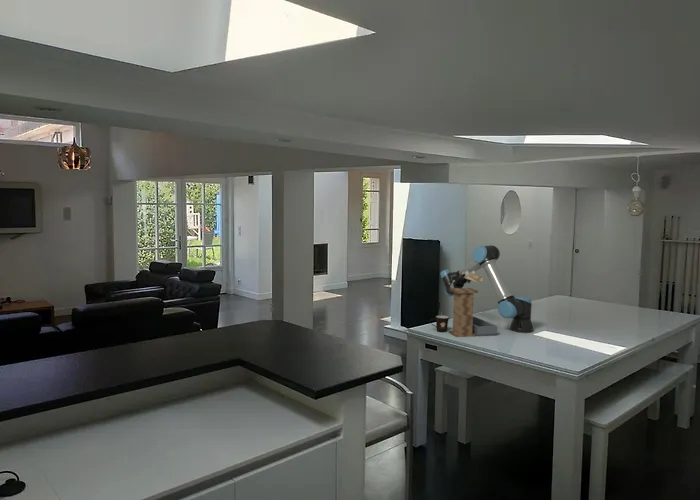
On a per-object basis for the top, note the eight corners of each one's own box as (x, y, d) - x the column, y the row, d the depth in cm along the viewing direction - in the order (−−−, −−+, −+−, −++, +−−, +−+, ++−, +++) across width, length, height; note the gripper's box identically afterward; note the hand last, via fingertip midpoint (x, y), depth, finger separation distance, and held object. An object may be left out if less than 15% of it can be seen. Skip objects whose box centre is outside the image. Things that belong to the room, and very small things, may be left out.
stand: (467, 331, 359) (469, 287, 357) (476, 336, 347) (477, 290, 345) (448, 332, 355) (449, 288, 353) (456, 337, 344) (458, 291, 341)
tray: (473, 324, 382) (473, 316, 382) (497, 335, 351) (497, 326, 351) (455, 325, 378) (456, 317, 378) (477, 336, 348) (478, 327, 347)
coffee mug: (449, 331, 361) (450, 316, 360) (446, 333, 353) (446, 318, 353) (432, 328, 366) (433, 314, 365) (429, 331, 358) (429, 316, 357)
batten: (467, 277, 380) (467, 271, 380) (482, 281, 359) (482, 275, 359) (462, 277, 379) (462, 271, 379) (477, 281, 358) (477, 275, 358)
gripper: (468, 289, 392) (483, 277, 371) (447, 290, 387) (460, 277, 367) (466, 279, 395) (480, 267, 374) (445, 280, 390) (458, 267, 370)
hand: (470, 272), depth 371 cm, fingers closed on batten, 4 cm apart
